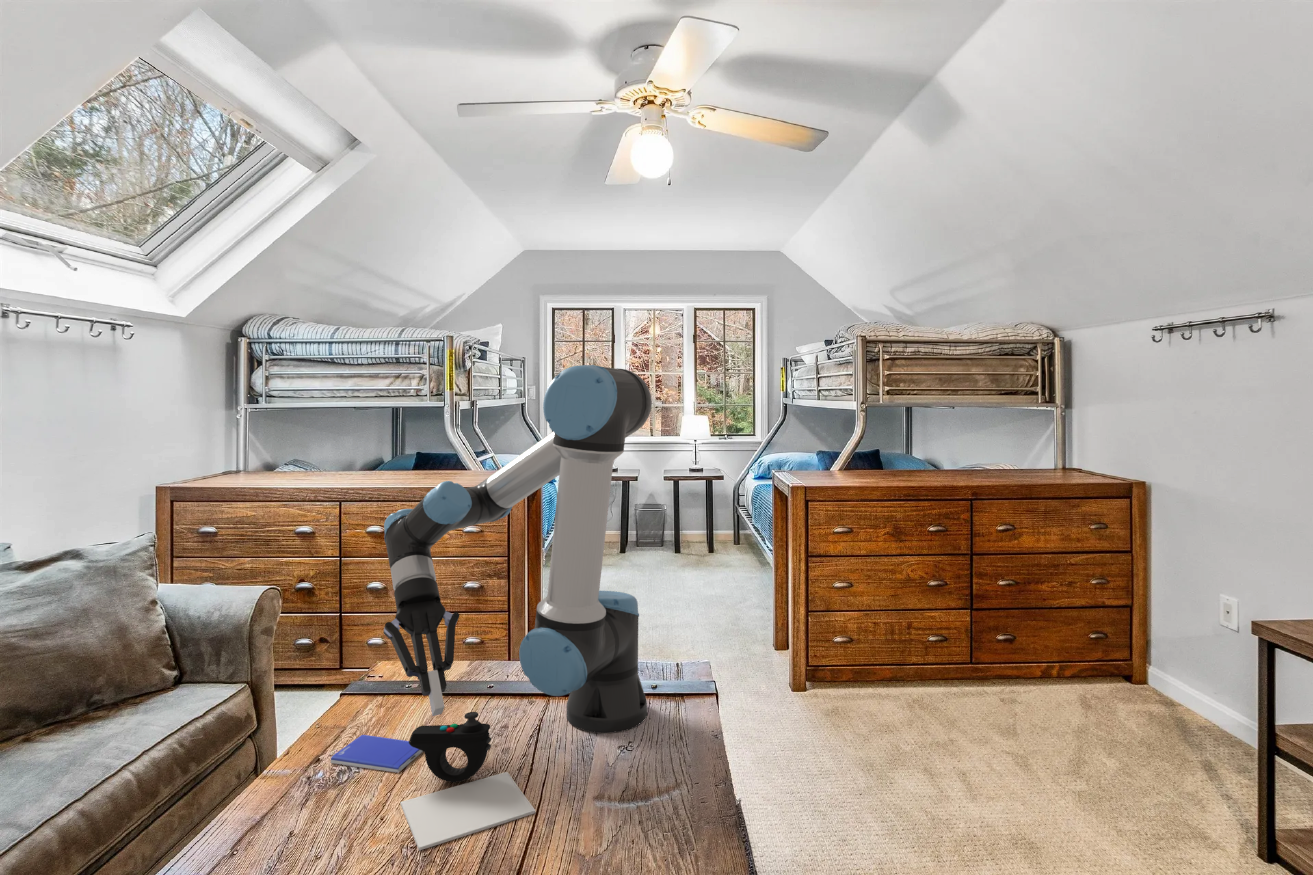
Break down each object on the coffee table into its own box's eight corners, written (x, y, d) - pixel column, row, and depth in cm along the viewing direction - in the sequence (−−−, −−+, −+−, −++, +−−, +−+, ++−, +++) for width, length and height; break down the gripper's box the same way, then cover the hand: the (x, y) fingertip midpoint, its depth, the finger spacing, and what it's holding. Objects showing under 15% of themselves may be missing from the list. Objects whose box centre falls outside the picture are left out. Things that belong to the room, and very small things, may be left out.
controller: (486, 786, 102) (484, 718, 103) (406, 786, 103) (404, 720, 103) (495, 772, 107) (493, 708, 107) (418, 773, 107) (416, 709, 108)
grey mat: (507, 774, 107) (507, 771, 107) (535, 812, 97) (535, 810, 97) (400, 804, 99) (400, 801, 99) (418, 850, 88) (418, 847, 88)
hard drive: (330, 756, 110) (398, 766, 107) (363, 733, 118) (427, 741, 115) (330, 766, 110) (398, 776, 107) (363, 742, 118) (427, 750, 115)
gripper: (447, 592, 130) (473, 712, 116) (374, 602, 123) (393, 730, 110) (455, 571, 125) (482, 693, 112) (379, 579, 118) (399, 710, 105)
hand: (438, 711), depth 111 cm, fingers closed
